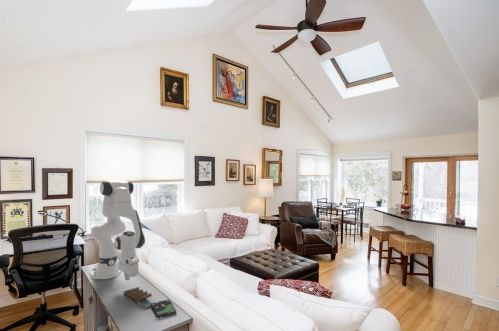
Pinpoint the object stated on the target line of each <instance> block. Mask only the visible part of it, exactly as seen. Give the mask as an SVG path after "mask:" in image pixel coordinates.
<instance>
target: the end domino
mask: <svg viewBox="0 0 499 331" xmlns="http://www.w3.org/2000/svg"><path fill="white" fill-rule="evenodd" d="M136 302H137V304H138V305H139V306H141V307H143V308H145V309H147V310H148V309H149V308H151V303H154V302H153V301H151V300H149V299H148V298H146V299H143V300H140V301H136Z"/></svg>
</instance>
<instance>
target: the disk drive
mask: <svg viewBox="0 0 499 331" xmlns="http://www.w3.org/2000/svg"><path fill="white" fill-rule="evenodd" d="M150 308H151V310H152V311H153V314H154V316H155V315H156V316H155V318H156V317H157V318H159V319H161V318H160V317H163V318H167V317H170V316H173V315H176V314H177V309H176V307H175V306H174V304H173V303H172V302H171V300H170V299H165V300H159V301H157V302H153V303H151V307H150ZM157 318H156V319H157Z"/></svg>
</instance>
